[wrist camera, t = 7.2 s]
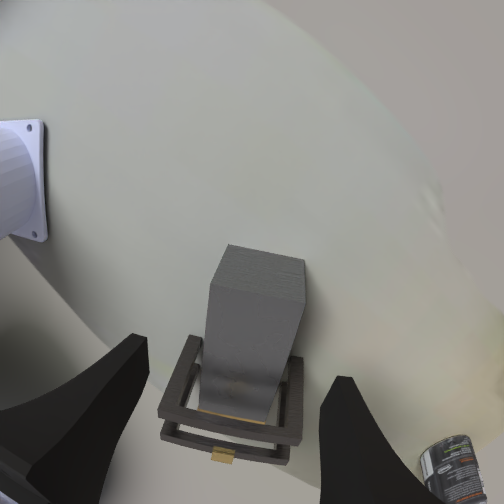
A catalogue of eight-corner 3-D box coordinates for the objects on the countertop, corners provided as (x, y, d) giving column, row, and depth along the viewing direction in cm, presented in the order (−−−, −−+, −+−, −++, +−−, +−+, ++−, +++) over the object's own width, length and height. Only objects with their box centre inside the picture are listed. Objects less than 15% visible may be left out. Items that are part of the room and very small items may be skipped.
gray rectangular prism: (209, 381, 22) (196, 424, 18) (227, 243, 17) (209, 283, 13) (265, 392, 21) (259, 437, 18) (304, 259, 17) (307, 303, 13)
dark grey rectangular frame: (187, 370, 21) (159, 446, 15) (188, 359, 21) (157, 437, 15) (289, 392, 21) (284, 472, 15) (294, 381, 20) (289, 464, 15)
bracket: (188, 343, 20) (158, 417, 14) (189, 334, 20) (157, 409, 14) (300, 366, 20) (297, 446, 14) (303, 357, 19) (302, 439, 14)
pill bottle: (408, 461, 25) (420, 551, 15) (446, 431, 22) (469, 530, 12) (443, 462, 25) (458, 541, 15) (479, 434, 23) (503, 519, 12)
